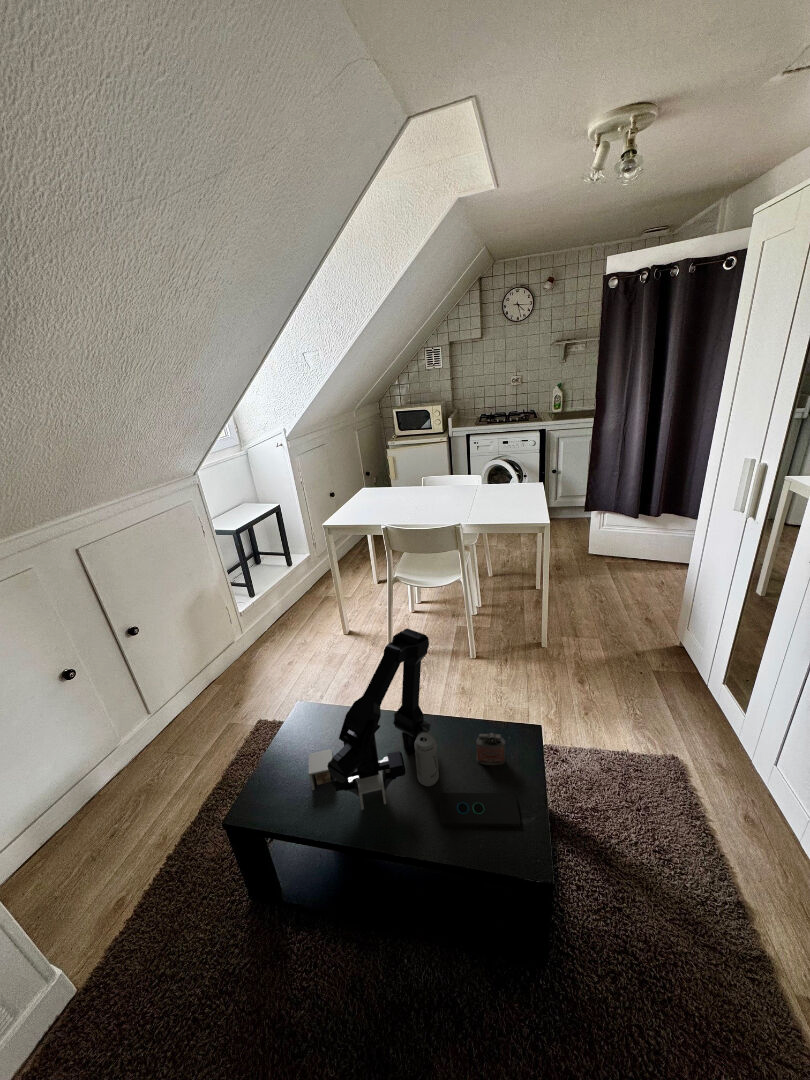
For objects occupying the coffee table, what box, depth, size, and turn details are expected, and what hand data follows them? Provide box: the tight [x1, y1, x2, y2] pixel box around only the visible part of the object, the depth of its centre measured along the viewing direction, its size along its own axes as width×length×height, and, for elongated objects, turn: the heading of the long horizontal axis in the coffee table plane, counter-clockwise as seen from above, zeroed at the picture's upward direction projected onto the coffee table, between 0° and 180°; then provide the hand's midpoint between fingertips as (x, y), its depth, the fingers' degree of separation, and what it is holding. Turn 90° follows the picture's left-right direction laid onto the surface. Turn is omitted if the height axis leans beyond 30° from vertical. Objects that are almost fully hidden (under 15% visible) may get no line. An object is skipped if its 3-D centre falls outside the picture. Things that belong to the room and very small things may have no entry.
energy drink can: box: [414, 732, 440, 787], centre depth 115 cm, size 6×6×15 cm
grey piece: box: [308, 748, 334, 791], centre depth 120 cm, size 7×7×6 cm
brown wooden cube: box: [315, 771, 332, 786], centre depth 120 cm, size 4×4×4 cm
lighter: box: [475, 732, 506, 766], centre depth 120 cm, size 8×3×10 cm, turn 84°
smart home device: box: [439, 792, 522, 828], centre depth 109 cm, size 8×2×20 cm
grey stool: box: [356, 770, 387, 811], centre depth 112 cm, size 7×7×6 cm
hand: (372, 791), depth 113 cm, fingers closed on grey stool, 6 cm apart
